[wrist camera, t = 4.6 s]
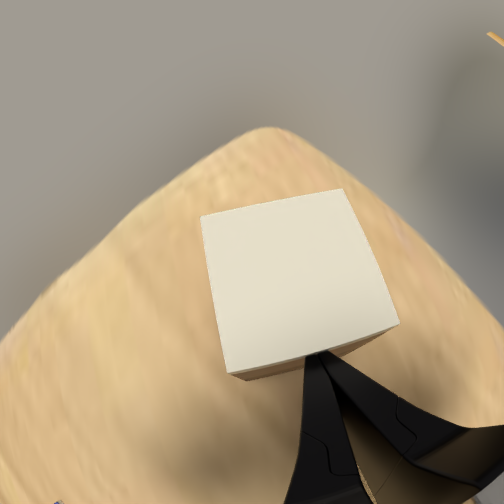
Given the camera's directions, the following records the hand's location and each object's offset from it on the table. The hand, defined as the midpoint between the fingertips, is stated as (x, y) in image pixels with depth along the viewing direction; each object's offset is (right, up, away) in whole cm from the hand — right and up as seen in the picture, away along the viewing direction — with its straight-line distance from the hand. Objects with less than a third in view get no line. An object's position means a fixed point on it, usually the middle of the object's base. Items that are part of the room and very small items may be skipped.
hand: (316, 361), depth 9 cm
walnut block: (0, -1, +8) cm, 8 cm away
